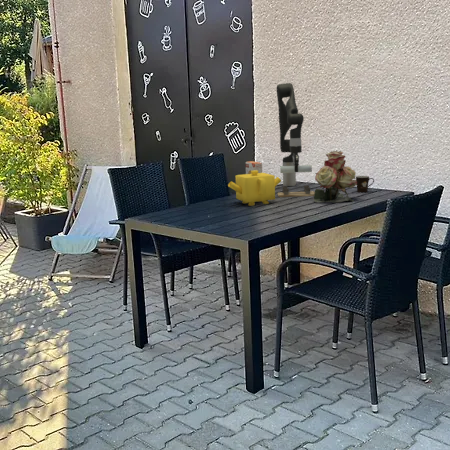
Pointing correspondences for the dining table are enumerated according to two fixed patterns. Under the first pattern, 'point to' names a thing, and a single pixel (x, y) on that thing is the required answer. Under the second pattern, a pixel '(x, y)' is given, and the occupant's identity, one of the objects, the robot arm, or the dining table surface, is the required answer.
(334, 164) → the rose bouquet
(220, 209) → the dining table surface
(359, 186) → the coffee mug
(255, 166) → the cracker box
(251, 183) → the yellow boxy teapot
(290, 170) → the rod
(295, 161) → the robot arm
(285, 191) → the clip board
